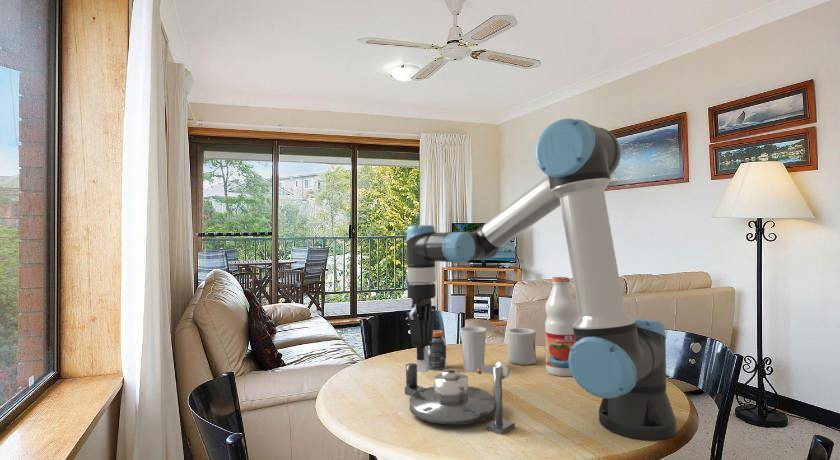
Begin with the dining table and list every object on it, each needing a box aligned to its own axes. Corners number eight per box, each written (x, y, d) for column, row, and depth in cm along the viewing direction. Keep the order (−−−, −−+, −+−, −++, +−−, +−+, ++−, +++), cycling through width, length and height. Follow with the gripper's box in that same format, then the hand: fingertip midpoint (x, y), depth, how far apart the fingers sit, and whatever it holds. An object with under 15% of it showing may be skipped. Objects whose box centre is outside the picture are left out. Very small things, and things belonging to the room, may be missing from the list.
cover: (475, 399, 110) (475, 370, 110) (452, 408, 105) (452, 378, 105) (450, 391, 116) (449, 364, 116) (427, 399, 110) (426, 371, 110)
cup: (486, 372, 140) (485, 332, 140) (459, 371, 142) (458, 331, 142) (487, 365, 148) (487, 326, 148) (462, 364, 150) (461, 326, 150)
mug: (539, 365, 147) (539, 333, 147) (510, 366, 147) (509, 333, 147) (530, 355, 159) (530, 325, 159) (503, 355, 159) (503, 325, 159)
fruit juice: (572, 367, 144) (570, 275, 144) (583, 376, 135) (582, 278, 135) (541, 368, 144) (540, 276, 144) (551, 377, 135) (549, 279, 135)
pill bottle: (449, 366, 147) (449, 330, 147) (440, 371, 142) (439, 333, 142) (433, 363, 150) (432, 328, 150) (423, 368, 145) (423, 331, 145)
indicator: (514, 427, 101) (513, 363, 101) (501, 434, 98) (500, 368, 98) (485, 417, 107) (484, 356, 107) (471, 424, 103) (470, 361, 103)
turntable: (512, 405, 110) (512, 374, 110) (457, 432, 96) (457, 396, 96) (434, 382, 128) (434, 356, 128) (378, 402, 114) (377, 372, 114)
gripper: (420, 279, 134) (421, 363, 134) (397, 285, 122) (398, 376, 122) (444, 280, 130) (445, 366, 130) (422, 286, 119) (424, 379, 119)
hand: (422, 370), depth 126 cm, fingers closed
